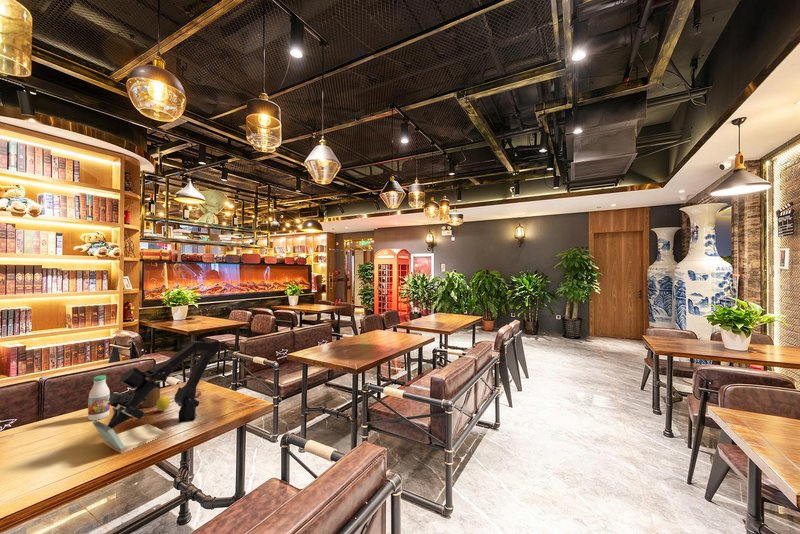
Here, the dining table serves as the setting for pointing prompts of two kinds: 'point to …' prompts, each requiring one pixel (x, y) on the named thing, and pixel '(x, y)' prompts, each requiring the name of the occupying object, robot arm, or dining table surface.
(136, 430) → the beige flat square pad
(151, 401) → the mug
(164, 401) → the lemon
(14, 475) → the dining table surface
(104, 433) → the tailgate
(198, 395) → the pretzel
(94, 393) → the milk bottle
